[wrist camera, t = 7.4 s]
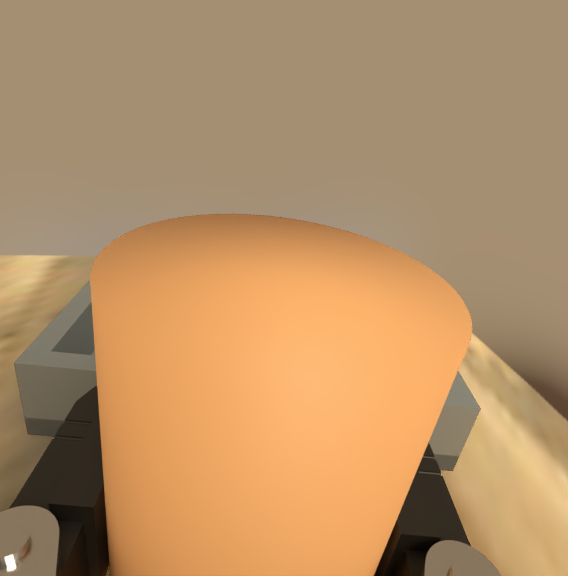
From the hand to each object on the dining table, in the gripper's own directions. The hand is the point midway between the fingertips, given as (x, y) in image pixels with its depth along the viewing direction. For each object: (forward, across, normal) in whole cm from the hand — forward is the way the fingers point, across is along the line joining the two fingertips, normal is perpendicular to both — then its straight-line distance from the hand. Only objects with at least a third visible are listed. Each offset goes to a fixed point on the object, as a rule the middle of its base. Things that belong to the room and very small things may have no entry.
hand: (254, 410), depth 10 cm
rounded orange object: (-3, 0, +7) cm, 7 cm away
